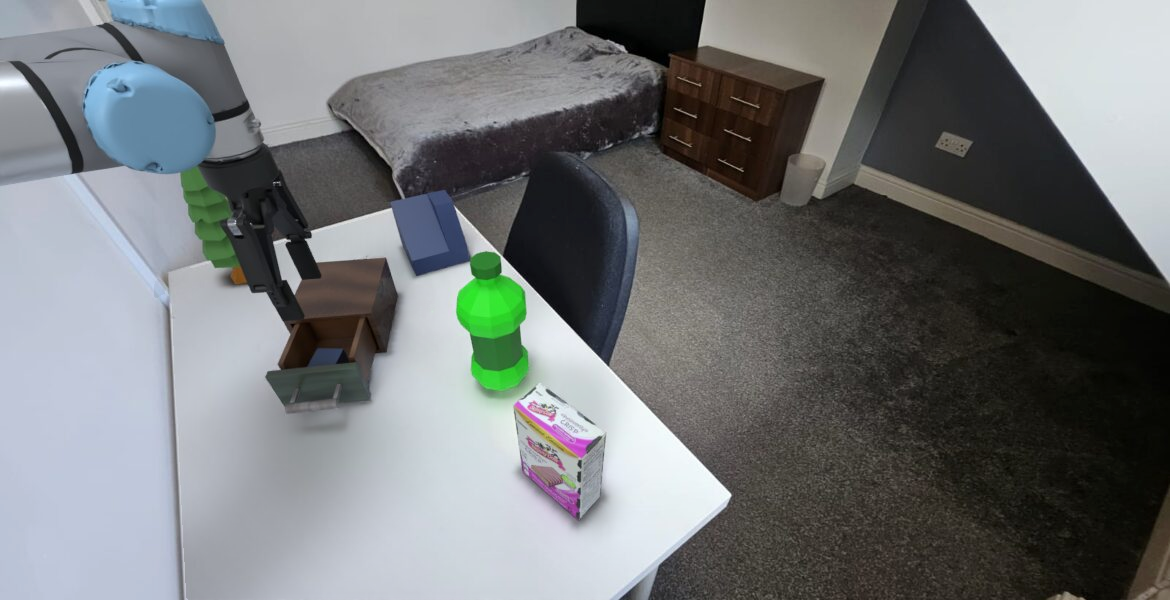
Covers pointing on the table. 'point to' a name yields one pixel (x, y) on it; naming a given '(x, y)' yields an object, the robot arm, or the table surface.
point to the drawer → (327, 382)
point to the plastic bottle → (494, 323)
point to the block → (328, 357)
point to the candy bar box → (560, 449)
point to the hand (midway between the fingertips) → (303, 297)
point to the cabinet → (351, 295)
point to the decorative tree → (210, 222)
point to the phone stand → (430, 232)
